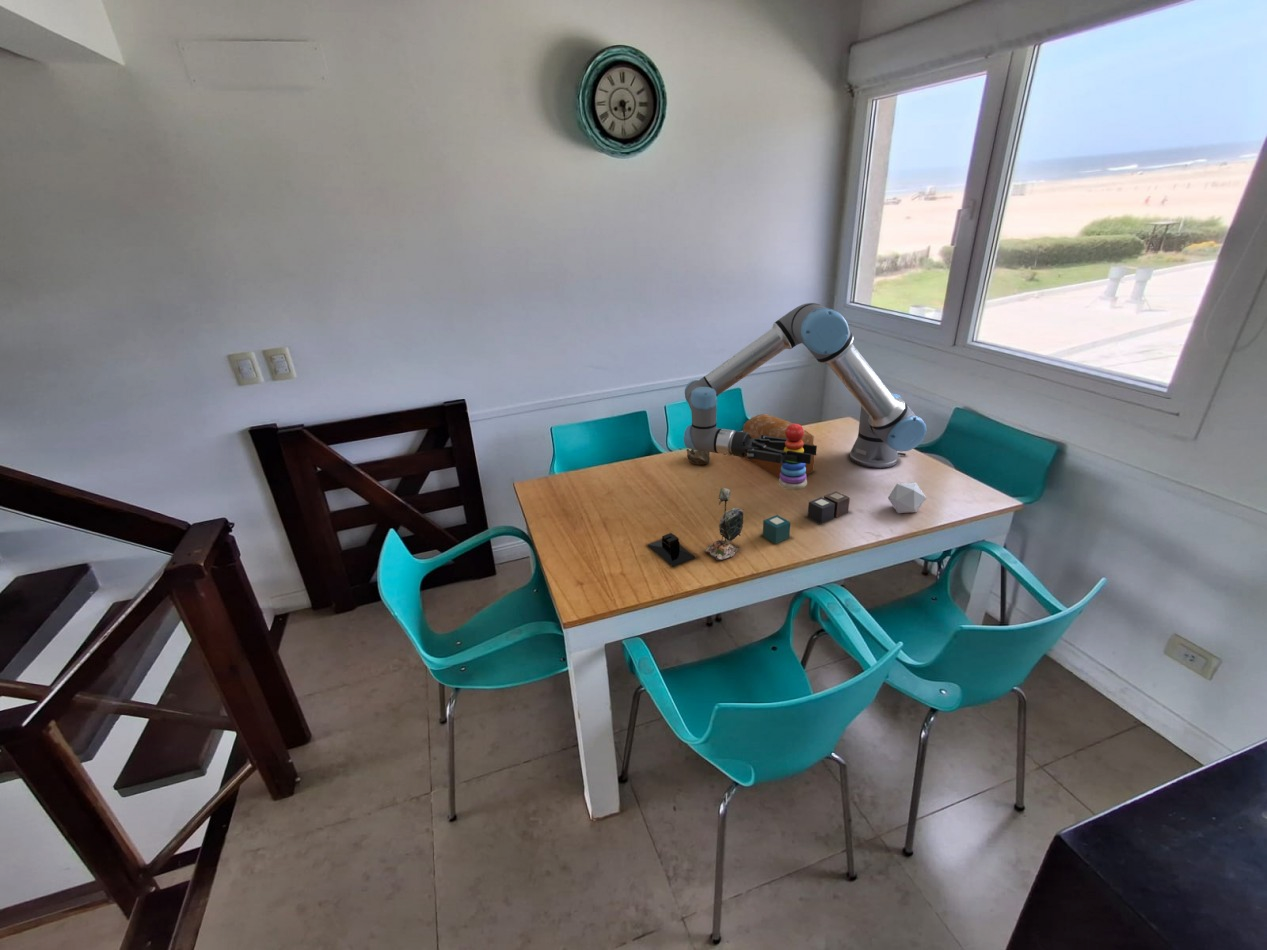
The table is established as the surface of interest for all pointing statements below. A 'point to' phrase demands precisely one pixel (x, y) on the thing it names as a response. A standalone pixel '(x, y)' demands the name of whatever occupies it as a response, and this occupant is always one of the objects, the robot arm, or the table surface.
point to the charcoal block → (821, 510)
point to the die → (906, 497)
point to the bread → (775, 429)
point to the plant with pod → (727, 529)
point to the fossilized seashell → (698, 457)
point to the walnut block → (839, 503)
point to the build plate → (671, 550)
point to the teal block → (776, 529)
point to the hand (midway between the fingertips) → (813, 454)
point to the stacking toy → (793, 471)
